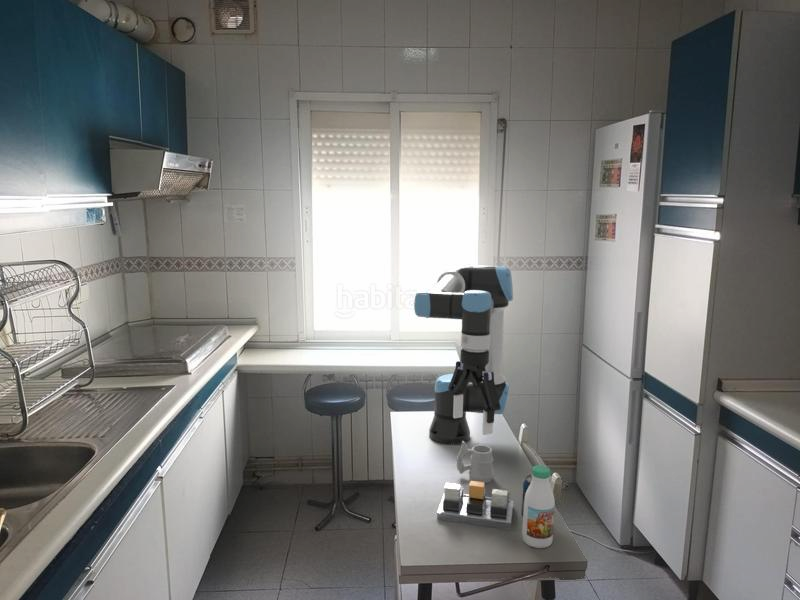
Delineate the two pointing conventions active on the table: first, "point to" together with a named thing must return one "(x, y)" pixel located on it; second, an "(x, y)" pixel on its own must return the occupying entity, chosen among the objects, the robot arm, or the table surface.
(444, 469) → the table surface
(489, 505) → the breaker panel
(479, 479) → the mug
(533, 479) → the milk bottle
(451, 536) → the table surface
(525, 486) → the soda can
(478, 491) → the toggle
